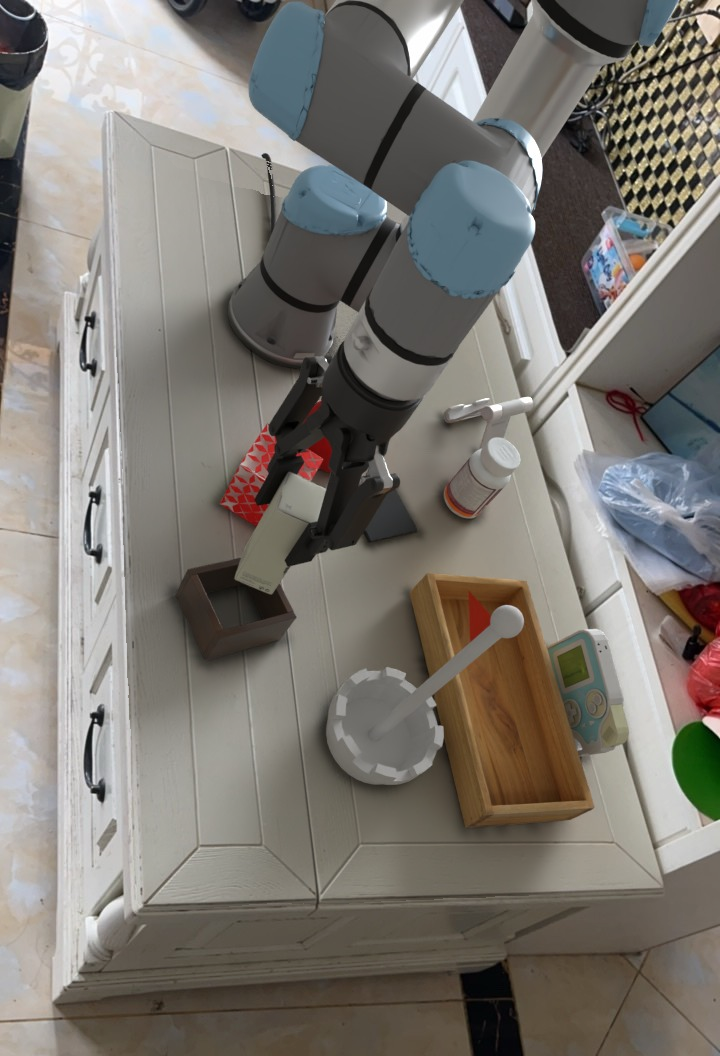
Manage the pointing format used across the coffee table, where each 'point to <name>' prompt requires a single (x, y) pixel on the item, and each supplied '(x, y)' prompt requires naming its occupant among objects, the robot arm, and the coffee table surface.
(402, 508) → the mat
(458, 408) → the tablet stand
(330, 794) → the coffee table surface
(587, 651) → the handheld gaming console
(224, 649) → the box
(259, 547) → the box
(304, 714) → the coffee table surface
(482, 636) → the flag stand
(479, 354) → the coffee table surface
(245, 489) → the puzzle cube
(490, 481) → the pill bottle
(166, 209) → the coffee table surface
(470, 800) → the tray
